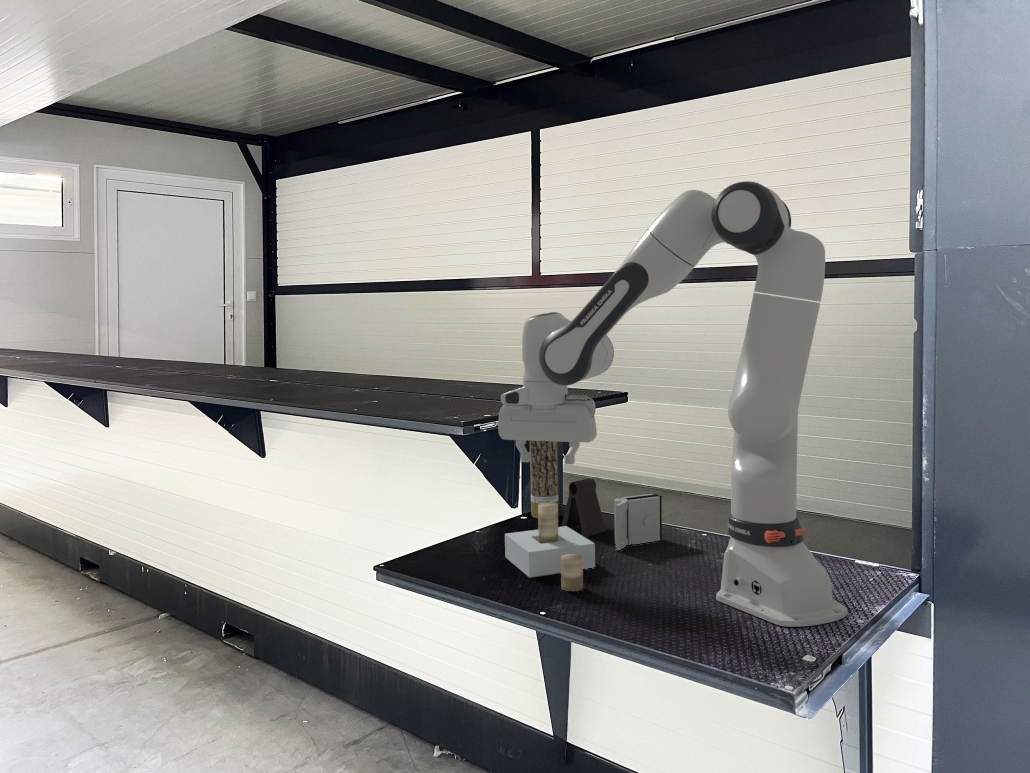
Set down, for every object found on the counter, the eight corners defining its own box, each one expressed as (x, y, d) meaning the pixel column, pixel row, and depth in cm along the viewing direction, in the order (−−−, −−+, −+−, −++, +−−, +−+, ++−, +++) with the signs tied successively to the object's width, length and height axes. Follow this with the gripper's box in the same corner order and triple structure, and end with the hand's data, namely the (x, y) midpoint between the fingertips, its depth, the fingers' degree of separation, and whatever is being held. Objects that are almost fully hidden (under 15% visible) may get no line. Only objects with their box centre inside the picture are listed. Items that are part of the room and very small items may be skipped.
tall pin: (561, 564, 162) (560, 506, 161) (543, 566, 161) (542, 508, 160) (554, 558, 166) (553, 501, 165) (536, 560, 165) (534, 503, 164)
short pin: (586, 590, 147) (586, 558, 146) (566, 594, 145) (566, 561, 145) (577, 584, 151) (577, 552, 150) (558, 587, 149) (557, 555, 149)
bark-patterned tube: (563, 517, 198) (562, 417, 196) (540, 521, 195) (538, 419, 193) (549, 511, 204) (547, 414, 202) (526, 515, 201) (524, 416, 199)
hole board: (595, 567, 159) (594, 543, 159) (529, 577, 155) (528, 552, 154) (566, 548, 173) (566, 526, 172) (505, 557, 168) (504, 533, 167)
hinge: (618, 552, 169) (617, 505, 168) (601, 547, 174) (600, 501, 173) (665, 540, 177) (664, 495, 176) (647, 535, 182) (647, 491, 181)
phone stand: (606, 532, 184) (605, 481, 183) (588, 537, 181) (587, 485, 179) (578, 525, 191) (577, 475, 190) (560, 530, 187) (559, 479, 186)
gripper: (600, 393, 159) (602, 462, 160) (507, 392, 167) (509, 457, 169) (589, 396, 153) (591, 468, 154) (493, 395, 162) (496, 463, 163)
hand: (547, 462), depth 162 cm, fingers open, 8 cm apart
